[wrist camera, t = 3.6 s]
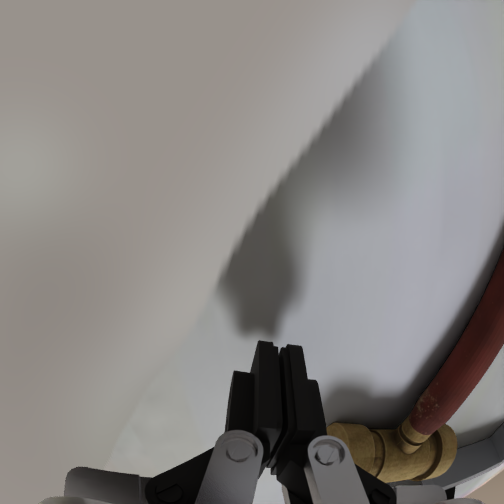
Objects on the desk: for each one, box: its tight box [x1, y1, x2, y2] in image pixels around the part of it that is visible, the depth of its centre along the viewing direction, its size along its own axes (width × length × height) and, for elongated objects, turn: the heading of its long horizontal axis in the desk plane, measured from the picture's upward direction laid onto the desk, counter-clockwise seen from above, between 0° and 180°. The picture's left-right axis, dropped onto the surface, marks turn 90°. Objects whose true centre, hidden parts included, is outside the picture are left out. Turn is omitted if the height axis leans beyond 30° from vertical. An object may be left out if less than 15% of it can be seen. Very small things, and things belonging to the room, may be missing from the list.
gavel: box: [326, 248, 504, 483], centre depth 11 cm, size 21×5×10 cm
